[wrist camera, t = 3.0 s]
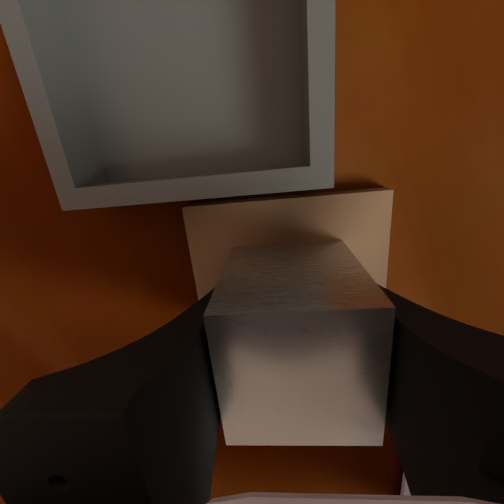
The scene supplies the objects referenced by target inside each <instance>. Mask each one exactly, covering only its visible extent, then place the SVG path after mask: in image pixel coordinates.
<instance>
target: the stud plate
mask: <svg viewBox="0 0 504 504" xmlns="http://www.w3.org/2000/svg"><path fill="white" fill-rule="evenodd" d="M393 191H394V190H393V189H390V188H386V187H380V188H368V189H357V190H345V191H333V192H321V193H309V194H297V195H285V196H273V197H261V198H250V199H238V200H226V201H214V202H202V203H190V204H186V205H185V206H183V207H182V213H183V218H184V224H185V229H186V235H187V240H188V246H189V251H190V257H191V262H192V268H193V273H194V279H195V284H196V290H197V295H198V301H199V300H200V299H201V298H202V297H204V296H205V295H206V294H207V293H208V292H210V291H211V290H212V289H214V288H215V287H216V284H217V282H218V279H219V277H220V275H221V272H222V270H223V268H224V265H225V263H226V260H227V258H228V256H229V253H230V251H231V249H232V247H246V246H261V245H276V244H290V243H305V242H320V241H335V240H343V242H344V243H345V244H346V245H347V247H348V248H349V249H350V250H351V252H352V253H353V254H354V256H355V257H356V258H357V259H358V261H359V262H360V263H361V264H362V266H363V267H364V268H365V269H366V271H367V272H368V273H369V274H370V276H371V277H372V278H373V279H374V281H375V282H376V283H377V284H378V285H380V286H382V287H384V288H386V280H387V267H388V254H389V242H390V229H391V216H392V203H393Z"/></svg>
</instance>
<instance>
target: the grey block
mask: <svg viewBox="0 0 504 504" xmlns="http://www.w3.org/2000/svg"><path fill="white" fill-rule="evenodd" d="M395 311H396V307H395V306H394V305H393V303H392V302H391V301H390V300H389V298H388V297H387V296H386V295H385V293H384V292H383V291H382V290H381V288H380V287H379V286H378V285H377V283H376V282H375V281H374V279H373V278H372V277H371V276H370V274H369V273H368V272H367V271H366V269H365V268H364V267H363V266H362V264H361V263H360V262H359V261H358V259H357V258H356V257H355V256H354V254H353V253H352V252H351V250H350V249H349V248H348V247H347V245H346V244H345V243H344V242H343V240H335V241H320V242H305V243H290V244H276V245H261V246H246V247H232V249H231V251H230V253H229V256H228V258H227V260H226V263H225V265H224V268H223V270H222V272H221V275H220V277H219V279H218V282H217V284H216V287H215V289H214V291H213V294H212V296H211V298H210V301H209V303H208V305H207V308H206V310H205V313H204V315H203V318H204V324H205V329H206V335H207V341H208V346H209V352H210V357H211V363H212V369H213V374H214V380H215V385H216V391H217V397H218V402H219V408H220V413H221V419H222V425H223V430H224V436H225V441H226V445H280V446H383V438H384V427H385V417H386V406H387V396H388V385H389V374H390V364H391V353H392V343H393V332H394V322H395Z"/></svg>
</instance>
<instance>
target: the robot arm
mask: <svg viewBox="0 0 504 504" xmlns="http://www.w3.org/2000/svg"><path fill="white" fill-rule="evenodd" d="M377 285H378V284H377ZM378 286H379V287H380V288H381V290H382V291H383V292H384V293H385V295H386V296H387V297H388V298H389V300H390V301H391V302H392V303H393V305H394V306H395V307H396V311H395V322H394V332H393V343H392V353H391V364H390V374H389V385H388V396H387V406H386V417H385V419H386V422H387V425H388V428H389V431H390V433H391V436H392V439H393V442H394V445H395V448H396V451H397V454H398V457H399V460H400V463H401V466H402V469H403V479H402V486H401V493H400V495H363V494H316V493H268V492H249V493H243V494H237V495H230V496H224V497H217V498H213V499H212V500H210V493H211V484H212V475H213V467H214V459H215V452H216V444H217V437H218V430H219V422H220V415H221V413H220V408H219V402H218V397H217V391H216V385H215V380H214V374H213V369H212V363H211V357H210V352H209V346H208V341H207V335H206V329H205V324H204V318H203V315H204V313H205V310H206V308H207V305H208V303H209V301H210V298H211V296H212V294H213V291H214V289H215V288H214V289H212V290H211V291H210V292H208V293H207V294H206V295H205V296H204V297H202V298H201V299H200V300H199V301H197V302H196V303H195V304H194V305H192V306H191V307H190V308H189V309H187V310H186V311H184V312H183V313H182V314H180V315H179V316H177V317H176V318H175V319H173V320H172V321H170V322H169V323H167V324H166V325H164V326H163V327H161V328H159V329H157V330H156V331H154V332H152V333H151V334H149V335H147V336H145V337H143V338H141V339H139V340H137V341H135V342H133V343H131V344H129V345H127V346H125V347H123V348H121V349H118V350H116V351H114V352H111V353H109V354H107V355H104V356H102V357H99V358H97V359H94V360H91V361H89V362H86V363H83V364H80V365H78V366H75V367H72V368H68V369H65V370H62V371H59V372H56V373H53V374H49V375H46V376H43V377H40V378H36V379H33V380H31V381H30V382H29V383H28V384H27V385H26V386H25V387H23V388H22V389H21V390H20V391H19V392H18V393H17V394H16V395H15V396H14V397H13V398H12V399H11V400H10V401H9V402H8V403H7V404H6V405H5V406H4V407H3V408H2V409H1V410H0V495H1V496H2V498H3V499H4V501H5V503H6V504H504V336H502V335H499V334H496V333H492V332H489V331H486V330H482V329H479V328H476V327H473V326H470V325H467V324H464V323H462V322H459V321H456V320H454V319H451V318H448V317H445V316H443V315H440V314H438V313H436V312H433V311H431V310H429V309H426V308H424V307H422V306H420V305H418V304H415V303H413V302H411V301H409V300H407V299H405V298H403V297H401V296H399V295H397V294H395V293H394V292H392V291H390V290H388V289H386V288H384V287H382V286H380V285H378Z"/></svg>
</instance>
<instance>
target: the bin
mask: <svg viewBox="0 0 504 504" xmlns="http://www.w3.org/2000/svg"><path fill="white" fill-rule="evenodd" d="M0 24H1V27H2V30H3V33H4V36H5V39H6V42H7V45H8V48H9V51H10V54H11V57H12V60H13V63H14V66H15V69H16V72H17V75H18V78H19V81H20V84H21V87H22V91H23V94H24V97H25V100H26V103H27V106H28V109H29V112H30V115H31V118H32V121H33V124H34V127H35V130H36V133H37V136H38V139H39V142H40V145H41V148H42V151H43V154H44V157H45V160H46V163H47V166H48V169H49V172H50V175H51V178H52V181H53V184H54V188H55V191H56V194H57V197H58V200H59V203H60V206H61V209H62V211H69V210H80V209H92V208H104V207H116V206H127V205H139V204H151V203H162V202H174V201H186V200H198V199H209V198H221V197H233V196H244V195H256V194H268V193H280V192H291V191H303V190H315V189H326V188H334V124H335V0H0Z"/></svg>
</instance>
